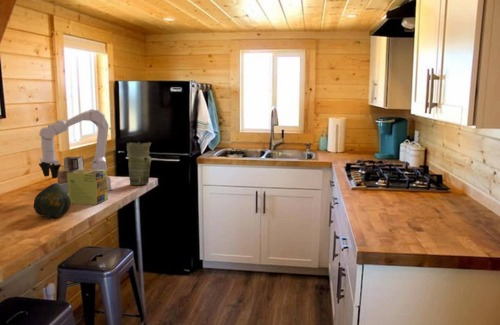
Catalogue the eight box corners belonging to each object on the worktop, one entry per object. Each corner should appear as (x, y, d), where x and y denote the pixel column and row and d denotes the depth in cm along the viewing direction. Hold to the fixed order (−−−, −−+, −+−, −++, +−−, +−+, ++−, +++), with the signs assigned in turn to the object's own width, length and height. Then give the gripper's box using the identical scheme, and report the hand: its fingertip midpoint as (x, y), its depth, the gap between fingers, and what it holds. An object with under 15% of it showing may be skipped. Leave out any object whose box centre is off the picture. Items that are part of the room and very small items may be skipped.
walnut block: (65, 181, 224) (64, 169, 223) (69, 182, 222) (69, 170, 221) (57, 182, 221) (56, 170, 220) (61, 183, 218) (61, 171, 217)
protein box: (97, 205, 198) (95, 173, 195) (68, 203, 201) (66, 172, 198) (108, 199, 208) (106, 169, 205) (81, 197, 211) (78, 168, 208)
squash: (25, 210, 170) (49, 182, 172) (28, 203, 183) (51, 176, 186) (55, 229, 175) (78, 201, 178) (56, 220, 189) (78, 194, 191)
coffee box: (85, 183, 243) (83, 156, 240) (80, 185, 237) (78, 158, 234) (71, 183, 244) (68, 156, 241) (65, 185, 238) (62, 158, 235)
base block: (74, 192, 223) (73, 182, 222) (61, 194, 218) (60, 184, 217) (67, 190, 227) (67, 180, 226) (55, 192, 222) (54, 182, 221)
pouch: (126, 184, 241) (123, 141, 236) (143, 180, 250) (141, 139, 245) (137, 187, 234) (135, 143, 229) (154, 183, 243) (152, 141, 238)
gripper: (33, 150, 209) (35, 176, 212) (48, 153, 201) (50, 180, 204) (46, 149, 215) (48, 174, 218) (62, 151, 207) (64, 177, 209)
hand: (50, 177), depth 211 cm, fingers open, 7 cm apart
